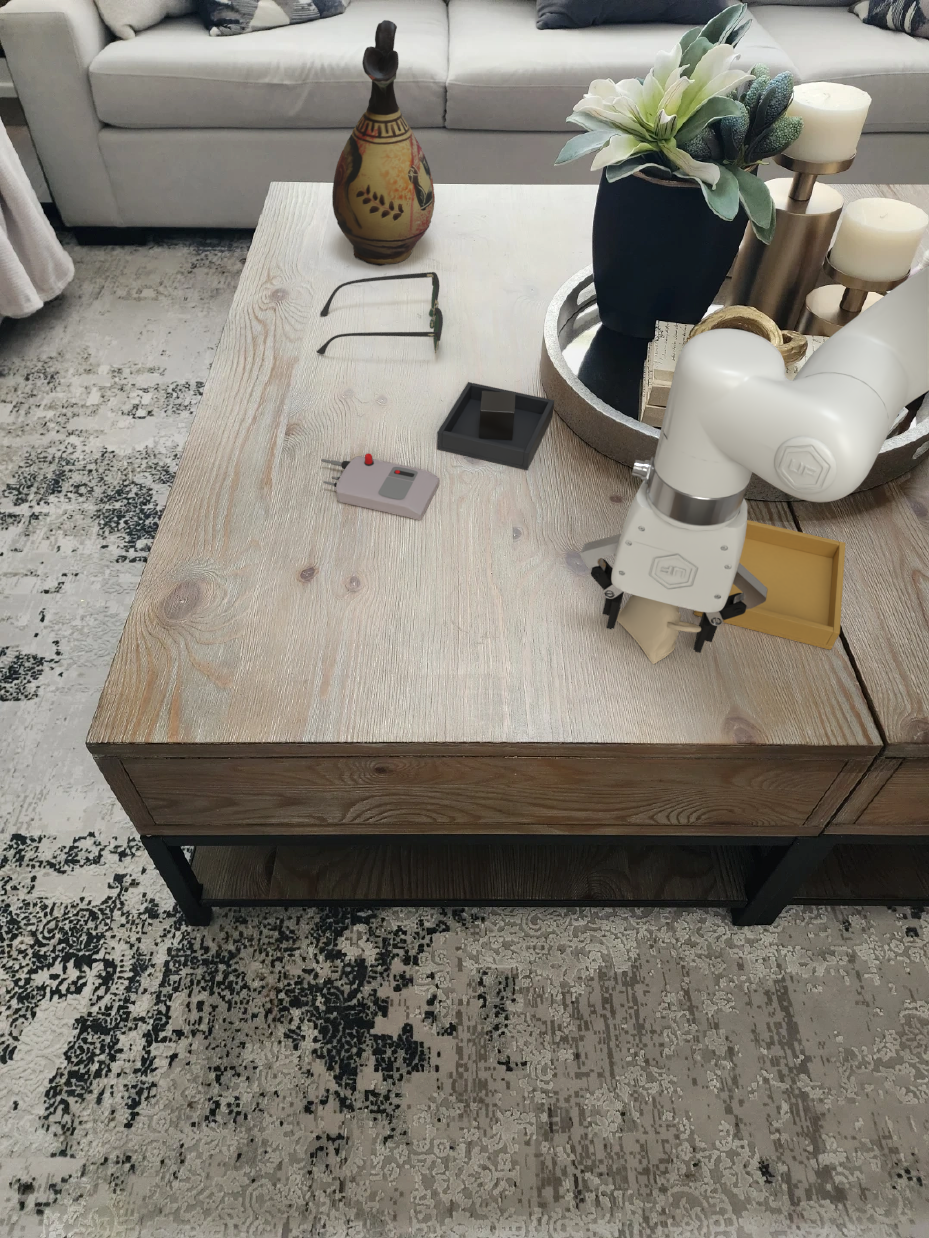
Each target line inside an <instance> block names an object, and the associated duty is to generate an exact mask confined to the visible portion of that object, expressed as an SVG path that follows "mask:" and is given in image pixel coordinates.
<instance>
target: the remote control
mask: <svg viewBox="0 0 929 1238" xmlns="http://www.w3.org/2000/svg"><path fill="white" fill-rule="evenodd" d="M320 462H323V463H327V464H330V465H332V466H337V467H341V469H342V470H343V471H342V472H341V474H340V476H338V477H337V476H331V479H332V480H336V481H337V482H331V481H327V480H323V482H322V483H323V484H325V485H329V486H333V487H334V488H335V495H336V499H337V502H339V503H343V504H348V505H352V506H357V507H361V508H365V509H370V510H373V511H374V510H375V511H380V512H383V513H389V514H393V515H397V516H401V517H405V518H410V519H414V520H418V521H422V519H423V518H424V516H425V514H426V511H427V510H428V508H429V506H430V504H431V502H432V500H433V498H434V496H435V495H436V492H437V490H438V488H439V486H440V477H438V476H437V475H435V474H433V473H432V472H430V471H429V470H426V469H423V468H418V467H413V466H409V465H403V464H400V463H395V462H390V461H385V460H381V459H375V458H373V455H372V454H371V453H369V452H368V453H366V454H365V455H364V456H362V455H358V456H355V457H354V458H352V459H351V460H343V461H340V460H339V461H338V460H334V459H331V460H329V459H326V458H321V459H320ZM451 494H453V491H452V492H451Z"/></svg>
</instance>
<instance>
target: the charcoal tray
mask: <svg viewBox="0 0 929 1238" xmlns="http://www.w3.org/2000/svg"><path fill="white" fill-rule="evenodd" d="M482 391H490V392H507V393H515V413H514V426H513V438H512V440H499V439H483V438H479V427H480V408H481V398H482ZM554 408H555V399H550V398H546V397H542V396H537V395H532V394H527V393H522V392H518V391H513V390H509V389H503V388H499V387H495V386H489V385H484V384H480V383H475V382H471V381H467V382H466V384H465V386H464V387H463V389H462V391H461V393H460V394H459V396H458V398H457V399H456V401H455V402H454V404H453V406H452V407H451V409H450V411H449V412H448V414H447V415H446V417H445V419H444V420H443V422H442V423H441V425H440V427H439V429H438V430H437V432H436V436H437V440H436V441H437V443H436V444H437V445H436V448H437V449H436V450H438V451H443V452H448V453H450V454H456V455H460V456H465V457H469V458H473V459H477V460H481V461H486V462H490V463H494V464H499V465H504V466H507V467H511V468H516V469H520V470H525V471H528V470H529V469H530V466H531V463H533V462H532V461H533V460H534V457H535V455H536V454H537V451H538V449H539V447H540V444H541V443H542V440H543V439H544V436H545V434H546V432H547V430H548V428H549V426H550V424H551V421H552V419H553V416H554Z"/></svg>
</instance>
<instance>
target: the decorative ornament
mask: <svg viewBox="0 0 929 1238" xmlns="http://www.w3.org/2000/svg"><path fill="white" fill-rule="evenodd" d="M616 622H618V624H619V625H621V626H622V627H623V628H624V630H625V631H627V633H629V635H630V636H631V637H632V638H633V639H634V641H636V643H637V644H638V645H639V646H640V648H641V649H642V652H643V653H644V654H645V656H646V657H647V658H648V660H649V662H651V664H653V665H655V664H657V663H658V662H660V661H662V660H663V659H664V658H666V657H668V656H669V655H670V654H672V652H674V650H675V649H676V644H677V642H676V640H677V639H679V634H680V632H686V633H697V632H700V631H701V627H700V626H699V624H695V623H692V622H688V621H682V614H681V613H680V607H679V606H675V605H671V604H667V603H663V602H659V601H655V600H651V599H647V598H644V597H640V596H636V595H633V594H631V596H630V597H629V598H628V599H627V600H626V602H625V604H624V606H623V607H621V608H620V611H619V614H618V617H617V621H616Z"/></svg>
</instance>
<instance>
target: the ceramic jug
mask: <svg viewBox="0 0 929 1238" xmlns="http://www.w3.org/2000/svg"><path fill="white" fill-rule="evenodd" d="M397 28H398V26H397V24H396V23H394V21H391V20H389V19H384V20H383V21H381V22H379V23H378V24H377V26H376V29H375V35H374V43H375V45H374V46H367V47H366V48H365V50H364V53H363V57H362V63H361V64H362V68H363V72H364V74H365V75H366V76H368V78H369V79H370V80H371V92H370V97H369V99H368V105H367V108H366V110H365V112H364V113H363V114H362V115H361V117H360V118H359V120H358V121H357V124H356V125H355V127H354V128H353V129H352V132H351V134H350V135H349V138H348V139H347V141H346V143H345V145H344V147H343V149H342V151H341V153H340V156H339V158H338V161H337V164H336V167H335V170H334V171H335V172H334V178H333V184H332V192H331V193H332V194H331V199H332V209H333V214H334V218H335V219H336V223H337V226H338V227H339V230H340V231H341V232H342V234H343V236H345V237H346V239H347V240H348V242H349V243H350V244H351V245H352V249H353V256H354V258H356V259H358V260H360V261H363V262H364V263H366V264H369V265H374V266H383V265H386V264H387V265H392V264H393V265H394V264H399V263H401V262H404V261H406V260H407V259H408V258H409V257H410V256H411V255H412V251H413V250H414V248H415V247H416V245H417V243H418V242H419V241H420V240H421V239H422V237H423V236H424V235H425V233H426V232H427V231H428V229H429V228H430V225H431V223H432V217H433V215H434V211H435V202H436V201H435V199H436V197H435V195H436V194H435V187H434V179H433V176H432V172H431V169H430V165H429V163H428V159H427V157H426V155H425V153H424V151H423V148H422V146H421V145H420V142H419V141H418V140H417V137H416V136H415V133H414V131H413V130H412V129H411V126H410V125H409V124H408V122H407V120H406V119H405V117H404V116H403V113H402V112H401V107H400V106H399V105H398V102H397V98H396V97H397V96H396V93H395V87H394V83H395V80H396V79H397V72H398V70H399V64H400V63H399V53H398V52H397V51H396V50H395V39H396V33H397Z"/></svg>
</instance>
